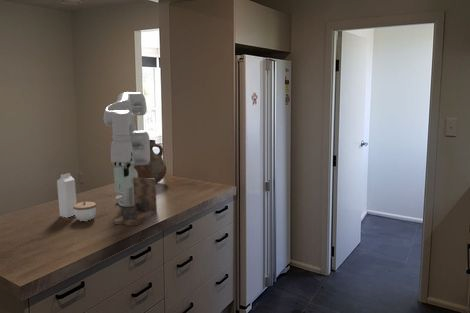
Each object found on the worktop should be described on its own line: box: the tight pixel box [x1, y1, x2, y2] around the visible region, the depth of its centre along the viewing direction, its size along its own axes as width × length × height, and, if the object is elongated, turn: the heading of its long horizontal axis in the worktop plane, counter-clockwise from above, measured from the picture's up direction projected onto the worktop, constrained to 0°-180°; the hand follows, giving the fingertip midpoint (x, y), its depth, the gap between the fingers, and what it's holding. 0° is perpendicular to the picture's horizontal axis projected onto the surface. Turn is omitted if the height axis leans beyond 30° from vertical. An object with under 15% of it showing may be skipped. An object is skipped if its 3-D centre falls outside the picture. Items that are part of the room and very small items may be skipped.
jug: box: [133, 139, 167, 186], centre depth 271 cm, size 22×22×30 cm
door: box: [113, 164, 133, 194], centre depth 196 cm, size 2×12×12 cm, turn 163°
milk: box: [56, 172, 77, 218], centre depth 205 cm, size 6×6×22 cm
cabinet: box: [113, 177, 158, 226], centre depth 202 cm, size 12×22×18 cm, turn 165°
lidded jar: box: [73, 200, 97, 222], centre depth 200 cm, size 11×11×9 cm
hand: (123, 175), depth 196 cm, fingers closed on door, 2 cm apart
